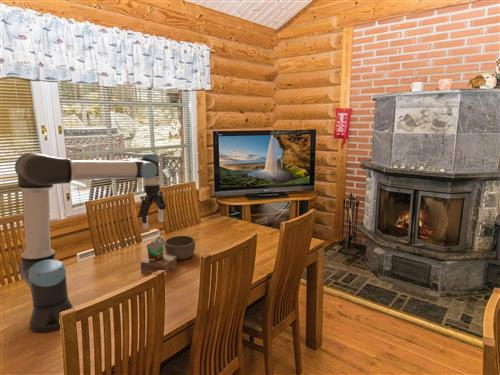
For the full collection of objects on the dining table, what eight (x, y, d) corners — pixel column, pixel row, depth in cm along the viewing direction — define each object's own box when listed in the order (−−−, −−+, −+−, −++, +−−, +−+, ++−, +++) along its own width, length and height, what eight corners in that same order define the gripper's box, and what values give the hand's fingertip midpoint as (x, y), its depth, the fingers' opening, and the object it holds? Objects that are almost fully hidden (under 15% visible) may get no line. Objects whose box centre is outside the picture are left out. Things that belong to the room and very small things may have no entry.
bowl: (174, 265, 181) (173, 248, 179) (159, 255, 195) (159, 239, 193) (201, 257, 192) (201, 241, 190) (186, 248, 206) (185, 233, 204)
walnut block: (165, 276, 169) (164, 265, 167) (141, 272, 173) (140, 261, 172) (176, 266, 180) (176, 256, 179) (154, 263, 184) (153, 253, 183)
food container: (158, 264, 169) (157, 245, 167) (147, 263, 170) (146, 244, 168) (169, 254, 181) (168, 237, 179) (158, 253, 182) (158, 236, 180)
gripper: (143, 189, 154) (145, 233, 158) (171, 180, 178) (172, 219, 182) (129, 188, 157) (132, 231, 161) (159, 179, 180) (160, 217, 184)
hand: (153, 225), depth 171 cm, fingers open, 13 cm apart
